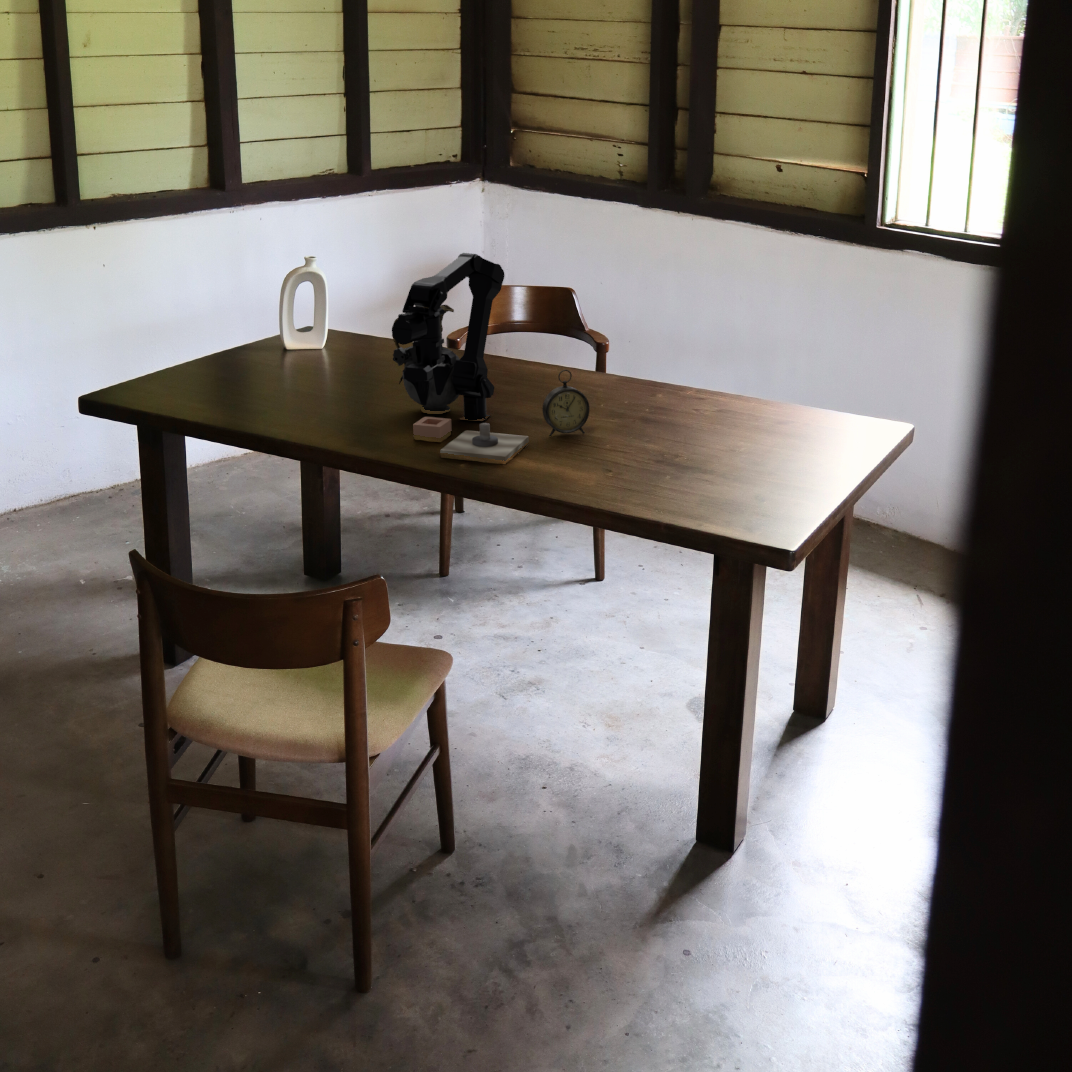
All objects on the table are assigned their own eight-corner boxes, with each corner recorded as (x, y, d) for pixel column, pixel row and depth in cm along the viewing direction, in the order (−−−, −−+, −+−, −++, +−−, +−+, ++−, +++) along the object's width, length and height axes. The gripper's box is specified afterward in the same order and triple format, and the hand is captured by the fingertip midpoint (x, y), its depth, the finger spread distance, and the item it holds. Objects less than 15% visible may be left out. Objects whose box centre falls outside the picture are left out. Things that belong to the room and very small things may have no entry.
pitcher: (454, 419, 301) (450, 302, 290) (387, 413, 307) (380, 297, 296) (471, 408, 310) (467, 294, 299) (405, 402, 316) (399, 289, 305)
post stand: (466, 438, 287) (465, 412, 284) (528, 444, 282) (528, 417, 279) (440, 458, 273) (439, 431, 270) (505, 465, 268) (505, 437, 265)
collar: (425, 432, 291) (424, 416, 290) (451, 434, 289) (451, 418, 288) (413, 440, 285) (412, 424, 284) (440, 443, 283) (439, 427, 282)
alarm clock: (546, 439, 285) (546, 374, 279) (540, 433, 290) (540, 368, 284) (589, 435, 288) (590, 370, 282) (583, 429, 293) (583, 365, 286)
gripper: (413, 325, 288) (416, 387, 294) (380, 342, 272) (384, 407, 278) (455, 328, 285) (458, 391, 291) (424, 345, 269) (427, 411, 275)
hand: (431, 400), depth 284 cm, fingers open, 9 cm apart
